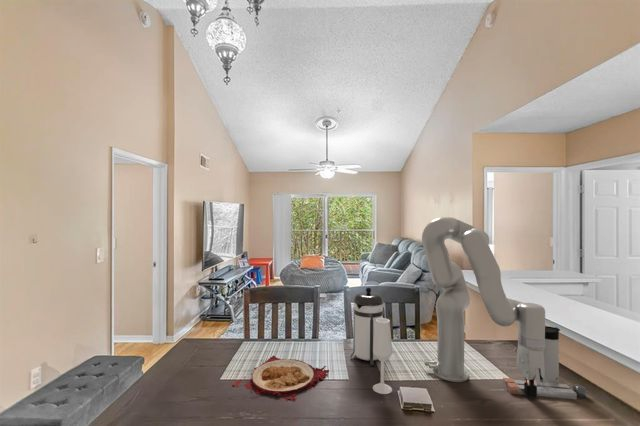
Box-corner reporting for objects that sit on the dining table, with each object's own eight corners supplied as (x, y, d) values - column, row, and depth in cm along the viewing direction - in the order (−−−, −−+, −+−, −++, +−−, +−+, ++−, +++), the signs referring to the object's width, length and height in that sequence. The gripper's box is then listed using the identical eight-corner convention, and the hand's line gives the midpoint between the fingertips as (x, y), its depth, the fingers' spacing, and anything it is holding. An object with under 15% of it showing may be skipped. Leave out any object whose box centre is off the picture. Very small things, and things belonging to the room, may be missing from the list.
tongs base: (579, 390, 113) (579, 382, 113) (588, 398, 108) (589, 390, 108) (502, 384, 117) (502, 376, 117) (508, 391, 112) (508, 383, 112)
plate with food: (273, 360, 137) (273, 351, 137) (329, 373, 124) (329, 364, 124) (231, 388, 115) (231, 378, 115) (294, 408, 103) (294, 397, 103)
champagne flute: (379, 381, 118) (380, 315, 118) (395, 388, 114) (396, 320, 114) (368, 388, 114) (369, 320, 114) (384, 396, 109) (385, 325, 109)
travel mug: (563, 387, 115) (563, 331, 115) (542, 385, 116) (542, 330, 116) (554, 378, 121) (554, 325, 121) (534, 377, 122) (535, 324, 122)
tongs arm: (571, 395, 110) (571, 388, 110) (576, 399, 108) (576, 392, 108) (506, 389, 114) (506, 382, 114) (509, 393, 111) (509, 386, 111)
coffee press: (392, 367, 129) (392, 292, 129) (351, 366, 130) (352, 291, 130) (384, 348, 147) (384, 282, 147) (348, 348, 147) (349, 282, 147)
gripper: (510, 332, 116) (509, 383, 117) (529, 349, 102) (528, 408, 102) (533, 333, 115) (532, 385, 115) (555, 351, 100) (554, 410, 101)
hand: (530, 395), depth 109 cm, fingers closed
